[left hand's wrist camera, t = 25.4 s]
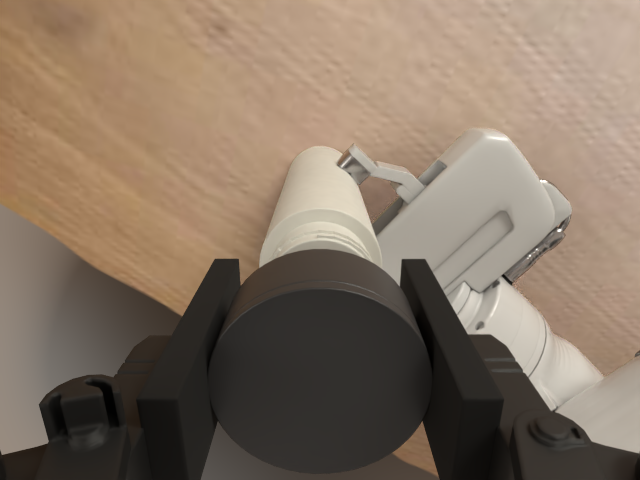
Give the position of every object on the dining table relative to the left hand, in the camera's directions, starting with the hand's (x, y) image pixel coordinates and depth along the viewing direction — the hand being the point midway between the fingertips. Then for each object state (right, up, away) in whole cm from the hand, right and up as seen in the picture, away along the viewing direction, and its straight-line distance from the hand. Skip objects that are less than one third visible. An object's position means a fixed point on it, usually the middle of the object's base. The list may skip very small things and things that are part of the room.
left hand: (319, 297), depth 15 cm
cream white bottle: (0, +6, +19) cm, 20 cm away
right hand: (-1, +5, +13) cm, 13 cm away
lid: (0, -1, -4) cm, 4 cm away
